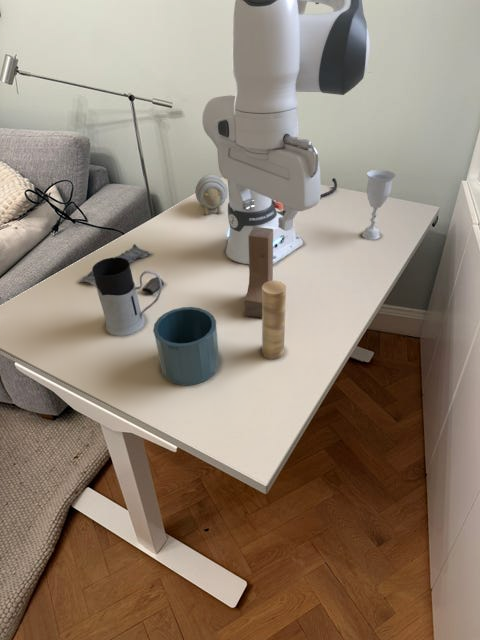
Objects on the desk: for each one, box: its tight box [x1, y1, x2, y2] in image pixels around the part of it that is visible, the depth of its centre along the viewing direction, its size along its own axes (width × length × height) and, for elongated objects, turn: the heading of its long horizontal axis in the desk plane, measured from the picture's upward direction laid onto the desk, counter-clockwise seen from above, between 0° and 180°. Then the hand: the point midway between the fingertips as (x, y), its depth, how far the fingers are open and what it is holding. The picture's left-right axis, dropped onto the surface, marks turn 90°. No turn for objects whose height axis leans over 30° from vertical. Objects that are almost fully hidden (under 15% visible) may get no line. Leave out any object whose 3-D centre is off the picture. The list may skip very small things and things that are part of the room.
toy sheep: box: [194, 174, 229, 215], centre depth 142 cm, size 11×17×11 cm, turn 10°
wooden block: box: [243, 227, 274, 319], centre depth 96 cm, size 9×4×18 cm, turn 163°
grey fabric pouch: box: [79, 243, 151, 285], centre depth 118 cm, size 21×7×2 cm, turn 144°
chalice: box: [361, 169, 396, 241], centre depth 121 cm, size 7×7×18 cm
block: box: [141, 276, 165, 295], centre depth 109 cm, size 4×6×2 cm, turn 163°
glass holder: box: [91, 256, 163, 337], centre depth 94 cm, size 9×14×15 cm, turn 88°
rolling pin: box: [261, 280, 287, 360], centre depth 84 cm, size 4×4×16 cm
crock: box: [152, 306, 220, 386], centre depth 84 cm, size 12×12×10 cm
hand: (265, 219), depth 70 cm, fingers open, 8 cm apart
